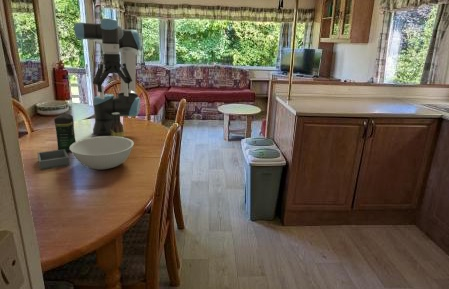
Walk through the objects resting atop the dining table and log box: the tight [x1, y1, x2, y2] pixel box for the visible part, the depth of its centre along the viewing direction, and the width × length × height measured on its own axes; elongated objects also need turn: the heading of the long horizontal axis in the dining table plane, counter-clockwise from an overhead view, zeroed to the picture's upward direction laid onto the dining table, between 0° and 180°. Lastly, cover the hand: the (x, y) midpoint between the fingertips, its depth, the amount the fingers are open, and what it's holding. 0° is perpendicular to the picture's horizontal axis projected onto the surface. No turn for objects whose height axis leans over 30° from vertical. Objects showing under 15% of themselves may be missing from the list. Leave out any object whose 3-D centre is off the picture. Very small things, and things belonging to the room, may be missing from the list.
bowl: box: [69, 135, 135, 170], centre depth 143 cm, size 27×27×10 cm
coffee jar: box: [54, 113, 77, 153], centre depth 159 cm, size 10×8×19 cm
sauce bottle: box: [110, 112, 125, 138], centre depth 162 cm, size 7×6×20 cm
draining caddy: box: [37, 149, 70, 171], centre depth 144 cm, size 12×13×4 cm
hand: (114, 97), depth 156 cm, fingers open, 13 cm apart
